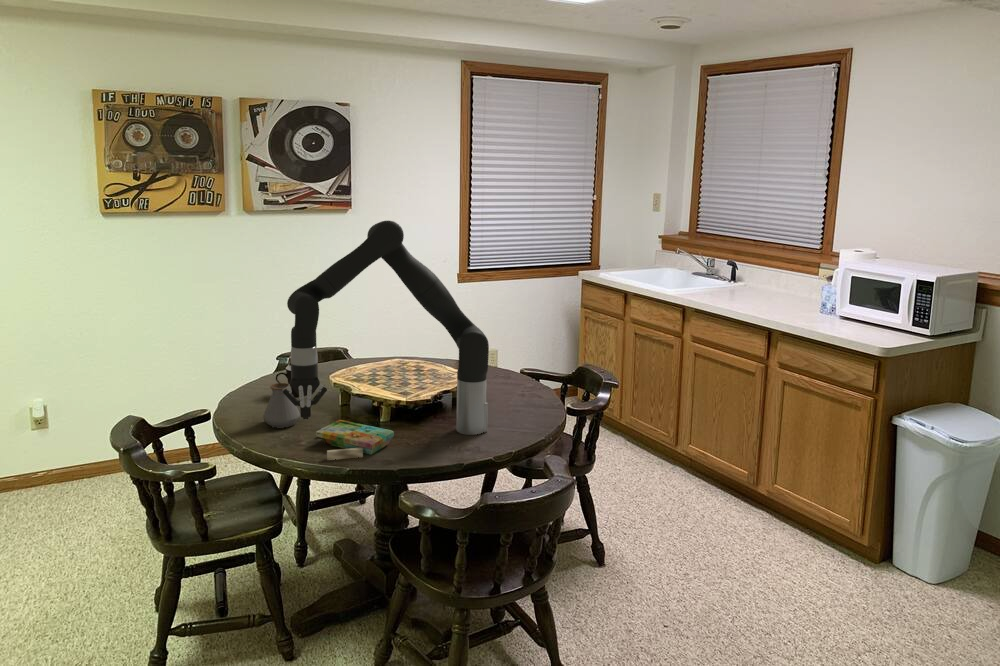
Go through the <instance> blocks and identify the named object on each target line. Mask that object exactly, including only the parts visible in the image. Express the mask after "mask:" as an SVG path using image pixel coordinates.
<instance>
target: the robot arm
mask: <svg viewBox="0 0 1000 666" xmlns="http://www.w3.org/2000/svg"><path fill="white" fill-rule="evenodd" d="M366 235H367V237H366V239H365V240H364V241H363V242H362V243H361V244H359V245H358V246H357V247H356V248H355V249H353V250H352V251H351V252H349V253H348V254H346V255H344V256H343V257H341V258H340V259H339V260H337V261H336V262H334V263H333V264H331V265H330V266H329V267H328V268H327V269H325V270H324V271H323V272H321V274H319V275H318V276H317V277H316V278H315V279H313V280H310V281H308V282H307V283H304V285H302V286H300V287H298V288H297V289H295V290H294V291H293V292H292V293H291V294H290V296H289V297H288V299H287V303H286V306H287V308H288V310H289V311H290V312H291V314H293V315H294V325H293V327H292V328H291V329H290V343H291V346H290V348H291V349H290V366H291V381H290V385H289V386H287V387H286V388H283V393H284V394H285V395H286V397H287V398H288V399H289V400H290V401H291V402H292V403H293V404H294V405H295V406H297V407H299V408H300V410H299V412H300V417H301V418H302V419H303V420H309V418H310V417H311V416H312V413H311V412H312V410H311V408H312V406H314V405H317V404H318V402H319V401H320V400H321V399H322V398H323V396H324V395H325V393H326V392H327V391H328V388H327V386H326V385H323V384H322V383H321V381H320V379H319V362H318V361H319V357H318V348H317V328H318V324H319V317H320V305H319V303H320V302H321V301H324V300H325V299H331V298H332V297H334V296H336V294H338V293H339V292H340V291H341V290H342V289H343V288H345V287H346V286H348V285H349V283H351V282H352V281H353V280H354V279H355V278H356V277H357V276H359V275H360V274H361V273H362V272H363V271H364V270H365V269H367V268H368V267H370V266H371V265H372V264H373V263H375V262H376V261H378V260H380V259H382V260H383V261H384V262H385V263H386V264H387V265H388V266H389V267H390V268H391V269H392V270H393V271H394V272H395V274H396V275H397V277H398V278H399V279H400V280H401V282H402V283H403V284H404V286H405V287H406V289H408V291H409V292H410V293H411V294H412V296H413V297H414V298H415V300H416V301H418V303H419V304H420V305H421V307H422V308H423V309H424V310H425V311H426V312H427V313H428V314H430V316H432V317H433V318H435V320H437V321H438V322H439V323H440V324H441V325H442V326H443V327H444V328H445V329H446V331H447V332H448V334H449V335H450V337H451V338H452V340H453V341H454V343H455V345H456V347H457V349H458V368H457V371H456V381H457V382H456V424H455V425H456V432H458V433H459V434H460V435H461V434H462V435H466V436H476V435H477V434H478V435H481V433H482V434H483V432H484V433H488V416H489V415H488V414H489V412H488V411H489V403H488V402H487V376H488V371H489V353H490V351H489V348H490V347H489V346H490V344H489V340H488V338H487V335H486V334H484V331H482V330H481V329H480V327H478V326H477V325H476V324H475V323H473V321H472V320H471V319H469V318H468V316H466V314H465V313H464V312H463V311H462V309H461V308H460V307H459V305H458V303H457V302H456V300H455V299H454V297H453V296H452V294H451V293H450V291H449V290H448V288H447V287H446V286H445V285H444V283H443V282H442V281H441V280H440V279H439V277H438V276H437V275H436V274H435V272H433V271H432V270H431V269H430V268H428V267H427V266H426V265H425V264H424V263H422V262H421V261H419V260H418V259H417V258H415V257H414V256H413V255H412V254H411V253H410V251H408V249H407V247H406V246H405V245H404V244H403V242H404V239H405V238H404V236H405V235H404V230H403V228H402V227H401V225H400V224H399V223H397V222H396V221H394V220H382V221H378V222H377V223H375V224H373V225H372V226H371V227H369V229H368V231H367V234H366ZM291 388H292V389H293V390H294V392H295V393H296V394H297V395H299V397H298V399H299V400H298V399H297V397H294V396H293V395H292V394H291V393H292V390H291ZM316 391H318V392H317V393H316V394H315V395H314V397H313V398H312V395H313V394H314V393H315V392H316ZM304 395H306V396H304Z"/></svg>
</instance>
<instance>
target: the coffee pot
mask: <svg viewBox="0 0 1000 666" xmlns="http://www.w3.org/2000/svg"><path fill="white" fill-rule="evenodd" d="M289 385H290V384H288V382H280V383H278V382H277V383H274V384H270V386H269V388H270V389H271V396H270V398H269V400H268V403H267V405H266V407H265V411H264V413H263V415H262V418H263V420H264V422H265V423H266V424H267V425H269V426H270V425H271V426H272V427H271V426H270V427H271V428H274V427H277V428H276V429H284V427H286V428H290V427H293V426H294V425H295V423H297V422H298V421H299V419H300V417H301V414H300V410H299V408H298V406H295V405H294V404H293V403H292V402H291V401H290V400H289V399H288V398H287V397H286V395H285V394H284V393H283V388H286V387H287V386H289ZM289 426H290V427H289Z"/></svg>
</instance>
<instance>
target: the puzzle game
mask: <svg viewBox="0 0 1000 666" xmlns="http://www.w3.org/2000/svg"><path fill="white" fill-rule="evenodd" d="M315 436H316V437H317V438H321V439H325V441H326V443H327V444H329V446H333V447H338V448H340V449H350V448H363V454H366V455H373V454H375V453H376V452H379V451H380V450H382V449H383V448H384V447H386V446H387V445H389V443H390V442H391V440H392V438H394V437H395V431H393V430H391V429H385V428H381V427H376V426H373V425H372V426H371V425H367V424H362V423H358V422H354V421H353V422H352V421H348V420H343V419H337V420H335V421H334V422H332V423H330V424H328V425H326V426H324V427H321V429H319V430H317V431H315Z"/></svg>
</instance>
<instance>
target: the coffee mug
mask: <svg viewBox="0 0 1000 666" xmlns="http://www.w3.org/2000/svg"><path fill="white" fill-rule="evenodd" d="M280 375H284V376H285V378H287V379H286V380H287V383H288V384H290V381H291V365H287V366H286V367H285V372H279V373H277V374H276V375H275V380H276V382H277V383H281V382H280V381H279V380H278V378H279V376H280ZM291 390H292V393H291V394H292V395H293V396H294V397H295V398H299V395H297V394H296V393H295V392H294V390H293V389H292V388H291ZM304 397H306V395H304Z"/></svg>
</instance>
